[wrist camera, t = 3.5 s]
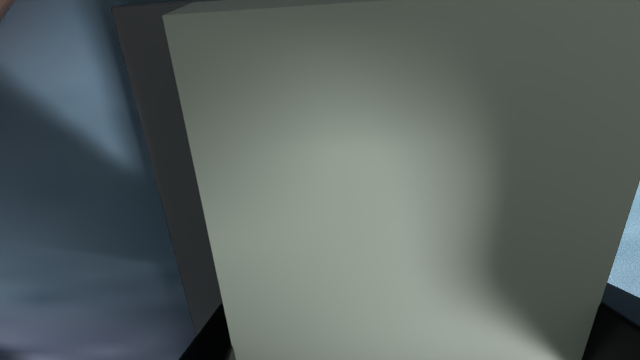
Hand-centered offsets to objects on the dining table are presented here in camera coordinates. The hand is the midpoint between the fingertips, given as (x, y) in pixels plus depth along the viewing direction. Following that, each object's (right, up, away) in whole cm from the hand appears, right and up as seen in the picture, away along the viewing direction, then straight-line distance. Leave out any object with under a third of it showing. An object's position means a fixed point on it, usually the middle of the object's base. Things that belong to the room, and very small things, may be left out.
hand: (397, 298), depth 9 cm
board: (0, 0, 0) cm, 0 cm away
